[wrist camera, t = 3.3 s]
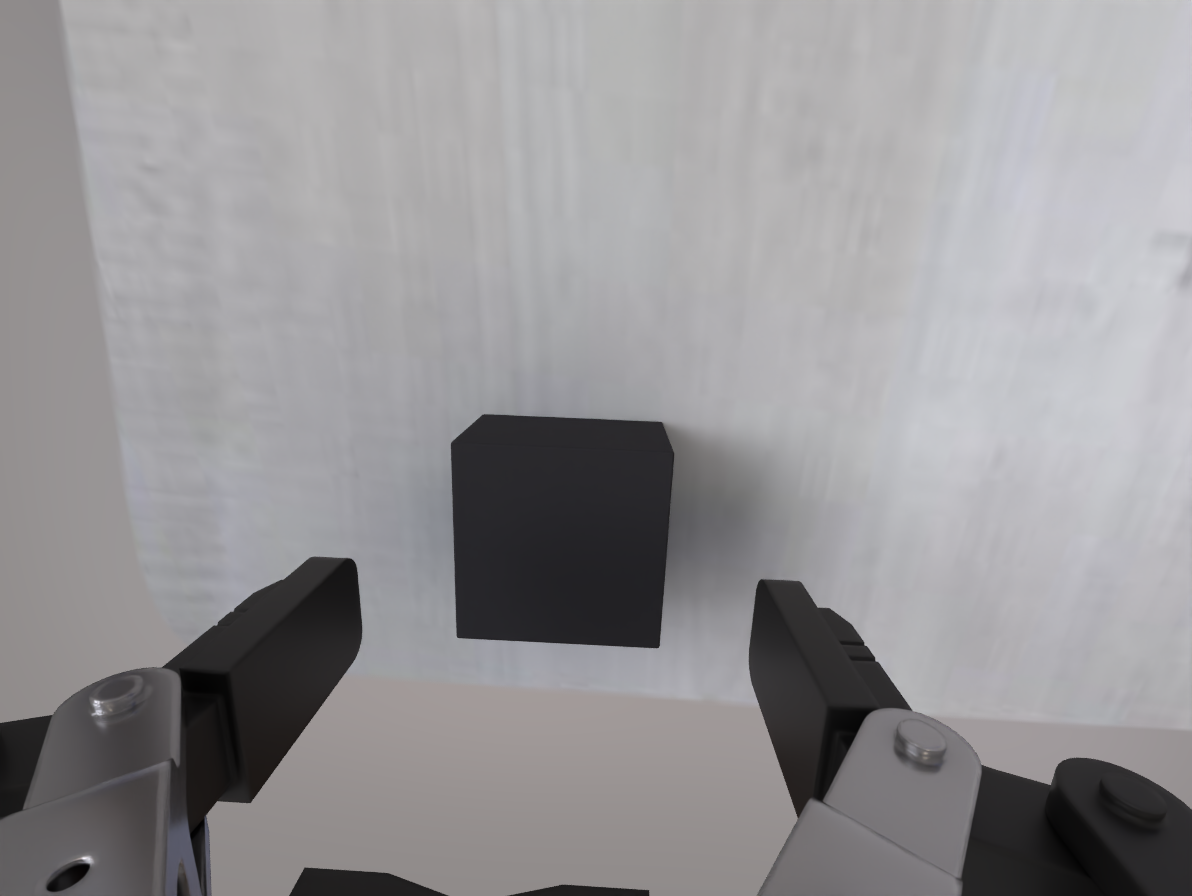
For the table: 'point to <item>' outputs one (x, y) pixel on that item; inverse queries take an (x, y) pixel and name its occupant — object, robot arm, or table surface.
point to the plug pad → (561, 529)
